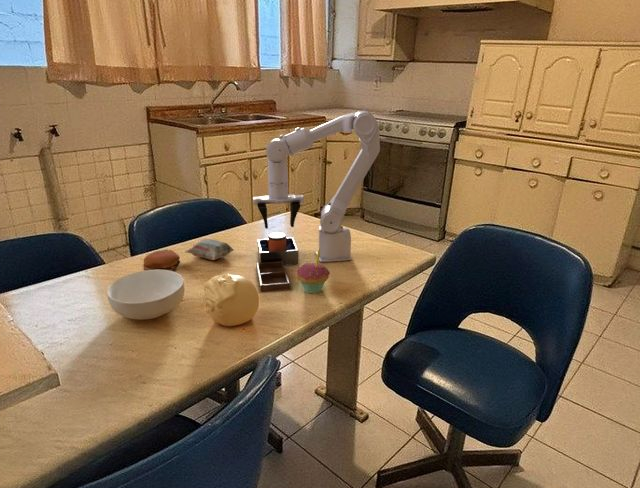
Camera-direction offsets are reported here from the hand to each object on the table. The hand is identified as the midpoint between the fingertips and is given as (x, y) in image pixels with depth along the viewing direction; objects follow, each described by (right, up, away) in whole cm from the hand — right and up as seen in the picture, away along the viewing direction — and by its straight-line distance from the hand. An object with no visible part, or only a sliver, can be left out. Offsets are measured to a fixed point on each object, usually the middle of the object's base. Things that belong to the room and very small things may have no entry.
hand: (279, 226), depth 136 cm
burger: (-33, -12, -6) cm, 35 cm away
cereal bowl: (-27, -22, -29) cm, 45 cm away
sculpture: (-7, -23, -32) cm, 40 cm away
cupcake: (+10, -17, -17) cm, 27 cm away
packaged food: (-21, -9, +2) cm, 23 cm away
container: (-1, -9, +1) cm, 9 cm away
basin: (-1, -10, +2) cm, 10 cm away
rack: (-1, -15, -12) cm, 19 cm away
